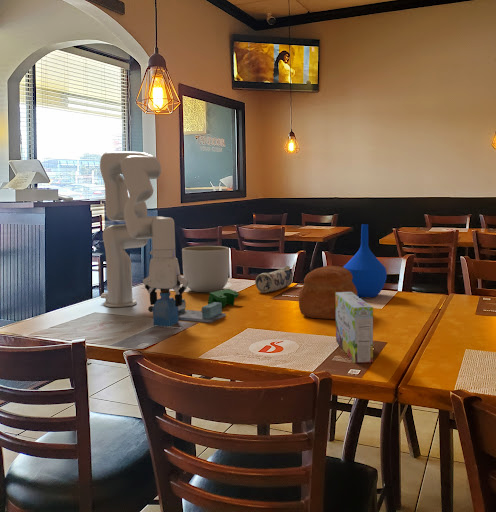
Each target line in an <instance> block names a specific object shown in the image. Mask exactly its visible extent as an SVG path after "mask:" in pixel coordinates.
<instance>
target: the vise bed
mask: <svg viewBox="0 0 496 512" xmlns="http://www.w3.org/2000/svg"><path fill="white" fill-rule="evenodd" d="M222 310H223V308H222V303H219V302H213V303H211V304H208V303H207V304H206V305H204V306H202V307H201V310H193V309H192V310H189V309H185V310H184V311H182V312H179V313H178V321H189V322H196V323H197V322H198V323H208V324H209V323H210V324H213V323H214V322H216V321H218V320H219V321H220V320H221V319H223V318H225V317H226V313H225V312H223V311H222Z"/></svg>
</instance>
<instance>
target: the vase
mask: <svg viewBox="0 0 496 512" xmlns="http://www.w3.org/2000/svg"><path fill="white" fill-rule="evenodd" d="M360 230H361V231H360V232H361V233H360V237H361V238H360V247H359V249H358V251H357V252H356V253H355V254H354V255H353V256H352V257H351V258H350V259H349V260H348V262H347V263H346V264H344V265H343V267H344V268H346V269H347V270H349V271H350V272H351V274H352V276H353V279H352V282H353V284H354V285H355V287H356V290H357V296H358V297H371V298H375V297H377V296H378V295H379V294H380V293H381V292H382V290H383V288H384V287H385V284H386V281H387V278H388V277H387V276H388V273H387V269H386V267H385V265H384V264H383V263H382V262H381V260H379V259H378V257H376V256H375V254H374V253H373V252H372V251H371V248H370V247H369V224H363V223H362V224H361V229H360Z"/></svg>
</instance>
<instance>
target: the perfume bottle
mask: <svg viewBox="0 0 496 512" xmlns="http://www.w3.org/2000/svg"><path fill="white" fill-rule="evenodd" d="M159 290H160V292H159V296H160V298H157V301H156V303H155V304H154V305H152V306H153V312H152V320H153V321H152V322H153V326H155V325H157V326H156V327H168V326H170V327H172V326H174V325H176V324H178V323H179V320H178V307H176V306H175V297H170V296H171V292H170V290H171V289H159ZM175 323H176V324H175ZM173 324H174V325H173Z"/></svg>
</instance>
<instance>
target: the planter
mask: <svg viewBox="0 0 496 512" xmlns="http://www.w3.org/2000/svg"><path fill="white" fill-rule="evenodd" d="M181 254H182V255H181V258H182V260H181V261H182V274H183V278H184V279H186V280H187V281H188V282H189V283H188V285H187V287H186V288H188V289H189V290H190V291H192V292H193V293H202V294H203V293H204V294H205V293H207V294H208V293H209V294H210V293H211V292H215V291H220V290H224V287H226V286H227V284H228V282H229V274H230V272H229V271H230V248H229V247H227V246H222V245H198V246H195V245H194V246H187V247H184V248H182V249H181Z"/></svg>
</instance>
